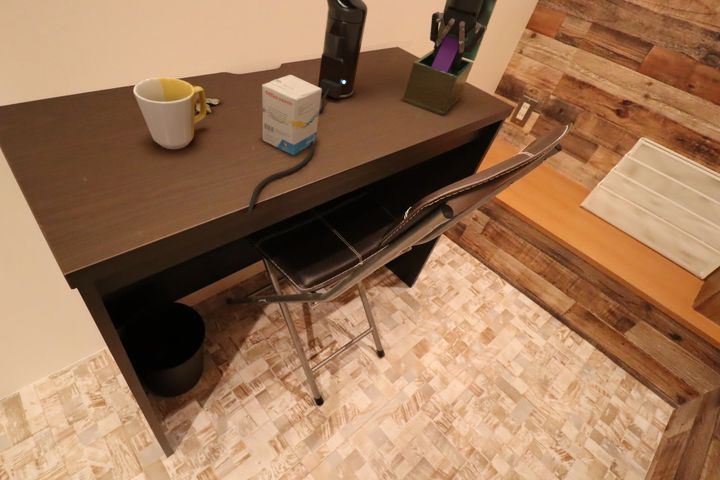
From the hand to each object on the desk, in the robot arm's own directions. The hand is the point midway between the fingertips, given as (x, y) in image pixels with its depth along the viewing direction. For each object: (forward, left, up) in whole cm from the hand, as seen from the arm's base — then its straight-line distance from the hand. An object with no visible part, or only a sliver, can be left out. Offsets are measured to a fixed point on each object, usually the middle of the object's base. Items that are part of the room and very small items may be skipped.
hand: (444, 64), depth 96 cm
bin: (0, 0, -9) cm, 9 cm away
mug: (-62, +32, -10) cm, 71 cm away
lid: (+5, 0, +9) cm, 10 cm away
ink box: (-47, +16, -10) cm, 51 cm away
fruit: (-49, +40, -10) cm, 64 cm away
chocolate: (+1, 0, +1) cm, 1 cm away
